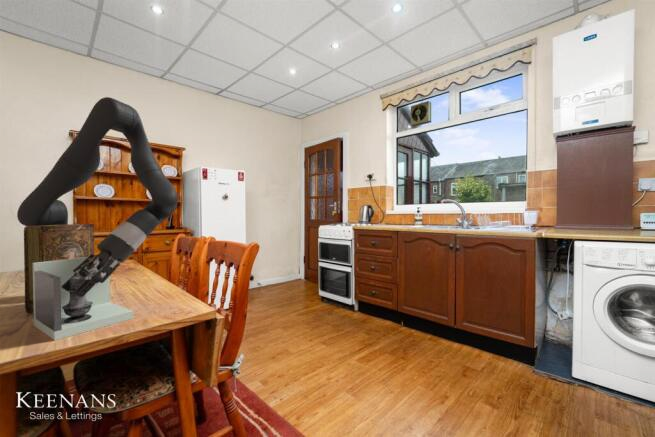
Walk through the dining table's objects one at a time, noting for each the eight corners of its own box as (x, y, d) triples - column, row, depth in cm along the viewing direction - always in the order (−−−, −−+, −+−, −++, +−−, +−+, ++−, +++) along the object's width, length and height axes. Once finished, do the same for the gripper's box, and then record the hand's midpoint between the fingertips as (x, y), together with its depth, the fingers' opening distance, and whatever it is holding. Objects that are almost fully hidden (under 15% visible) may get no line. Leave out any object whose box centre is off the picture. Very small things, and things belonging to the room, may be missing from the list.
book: (85, 297, 97) (83, 223, 96) (98, 298, 96) (97, 223, 95) (25, 315, 81) (23, 226, 80) (40, 316, 80) (38, 226, 79)
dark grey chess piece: (83, 322, 70) (82, 273, 69) (55, 324, 69) (55, 274, 68) (98, 314, 76) (98, 268, 75) (73, 315, 75) (72, 269, 74)
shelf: (34, 325, 73) (32, 262, 73) (108, 307, 87) (107, 254, 86) (54, 340, 65) (53, 269, 64) (133, 318, 78) (132, 259, 78)
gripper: (100, 232, 82) (46, 280, 72) (123, 234, 74) (66, 288, 65) (122, 248, 86) (74, 295, 77) (146, 252, 79) (95, 305, 69)
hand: (71, 292), depth 71 cm, fingers open, 8 cm apart
